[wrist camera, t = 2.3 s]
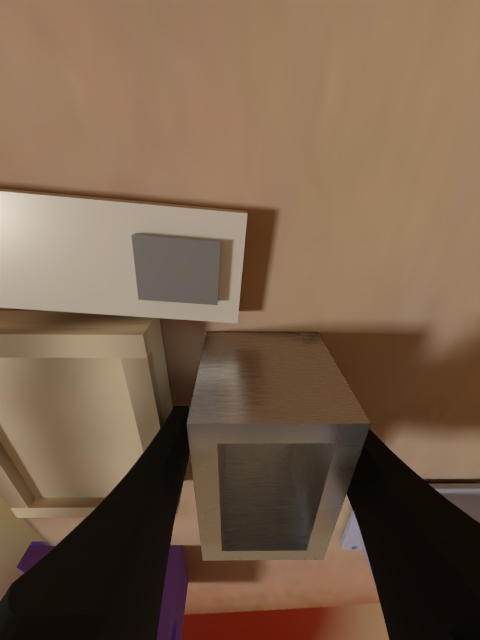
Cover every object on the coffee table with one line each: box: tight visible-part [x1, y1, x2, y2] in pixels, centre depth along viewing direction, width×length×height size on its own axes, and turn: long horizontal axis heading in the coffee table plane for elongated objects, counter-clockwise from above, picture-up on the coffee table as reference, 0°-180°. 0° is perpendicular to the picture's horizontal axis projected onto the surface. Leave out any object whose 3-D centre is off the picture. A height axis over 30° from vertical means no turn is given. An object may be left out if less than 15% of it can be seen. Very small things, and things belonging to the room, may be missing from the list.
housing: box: [187, 332, 371, 561], centre depth 11 cm, size 5×8×5 cm, turn 179°
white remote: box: [0, 188, 248, 323], centre depth 9 cm, size 4×10×2 cm, turn 85°
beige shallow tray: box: [0, 310, 183, 518], centre depth 12 cm, size 9×12×2 cm
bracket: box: [17, 541, 188, 640], centre depth 19 cm, size 12×7×7 cm, turn 89°
